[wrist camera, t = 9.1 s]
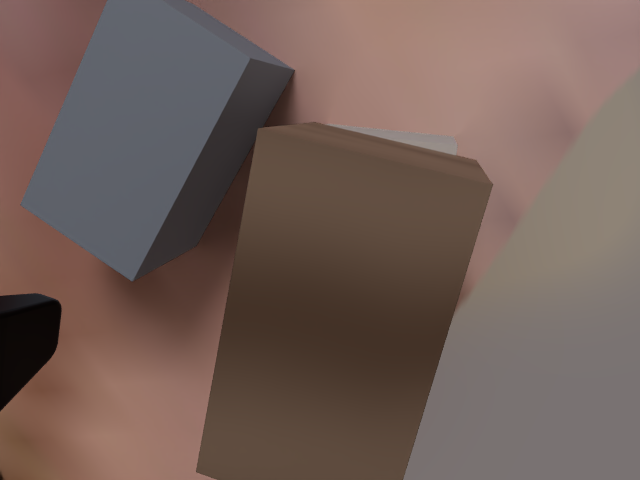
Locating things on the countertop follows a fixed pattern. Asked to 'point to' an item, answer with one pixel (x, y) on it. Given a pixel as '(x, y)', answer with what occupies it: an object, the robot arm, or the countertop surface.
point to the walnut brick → (337, 304)
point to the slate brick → (152, 132)
